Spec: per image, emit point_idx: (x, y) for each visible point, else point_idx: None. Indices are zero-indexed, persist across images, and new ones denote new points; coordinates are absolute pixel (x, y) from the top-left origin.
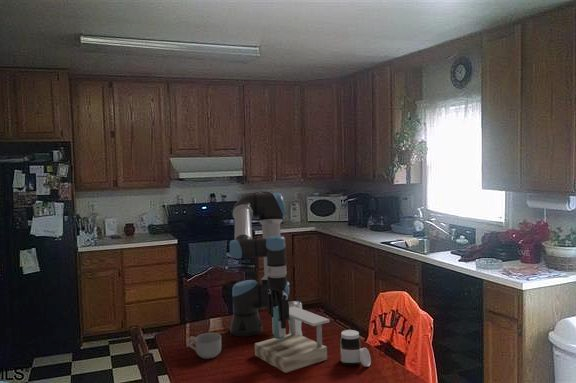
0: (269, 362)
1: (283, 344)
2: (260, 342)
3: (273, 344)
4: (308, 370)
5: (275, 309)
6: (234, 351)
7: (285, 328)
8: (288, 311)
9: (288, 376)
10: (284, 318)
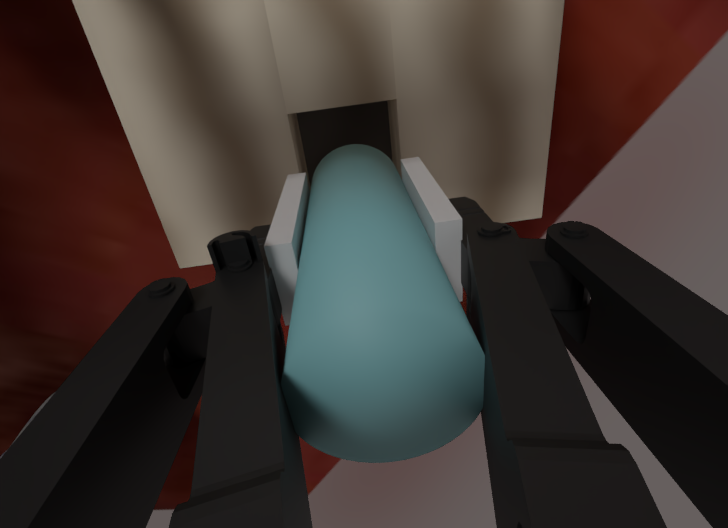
0: None
1: (296, 102)
2: (178, 231)
3: (258, 169)
4: (576, 58)
5: (431, 435)
6: (99, 302)
7: (434, 180)
8: (673, 294)
9: (553, 195)
10: (587, 305)
